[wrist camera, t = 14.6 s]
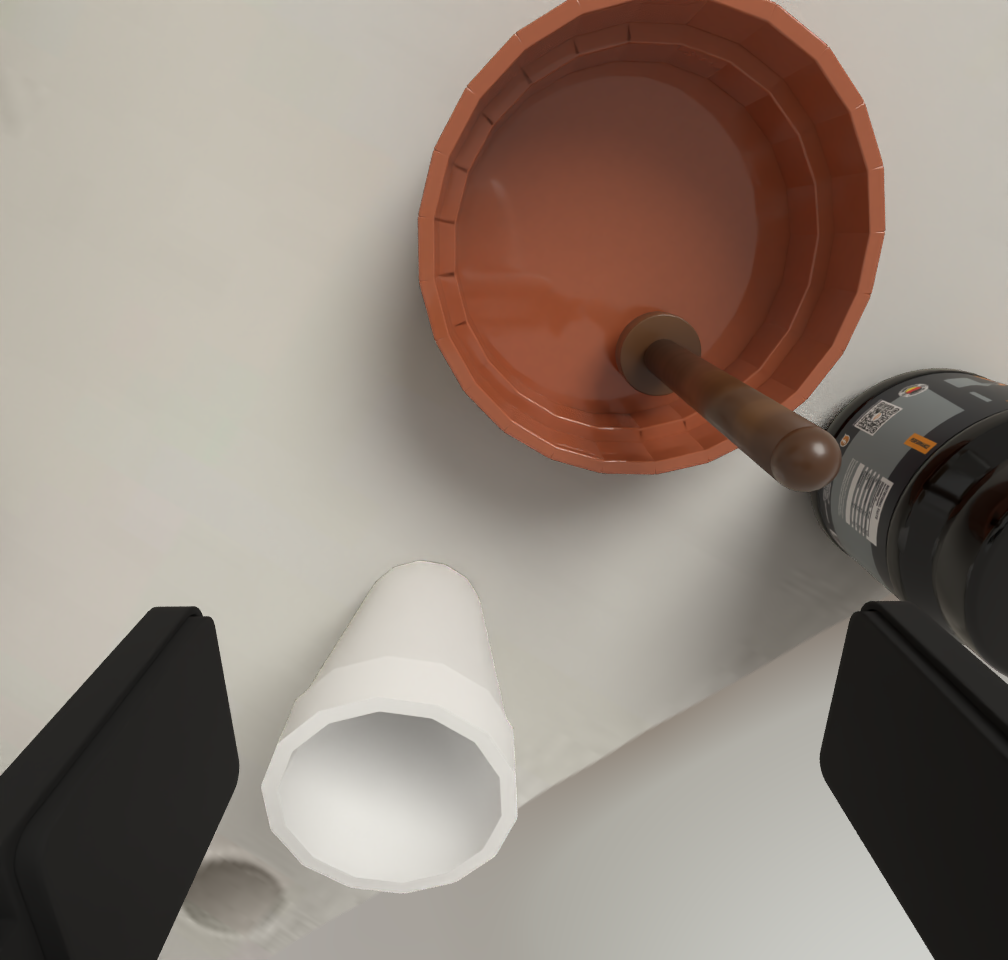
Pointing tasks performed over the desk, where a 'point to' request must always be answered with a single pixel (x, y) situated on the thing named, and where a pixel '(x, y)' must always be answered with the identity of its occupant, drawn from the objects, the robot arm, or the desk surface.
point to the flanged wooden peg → (726, 402)
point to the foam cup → (399, 743)
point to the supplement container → (929, 499)
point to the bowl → (648, 220)
